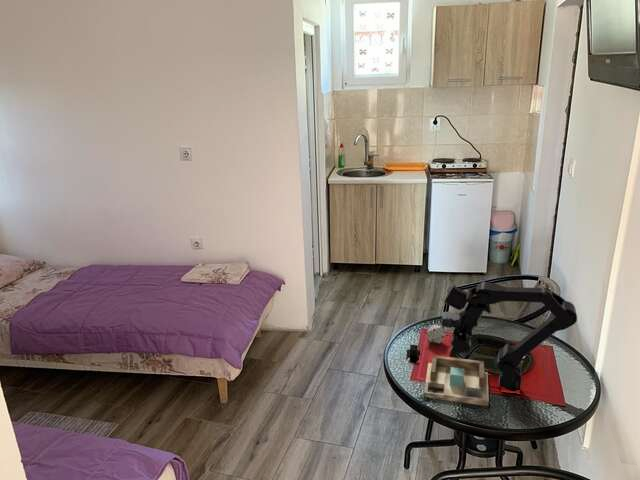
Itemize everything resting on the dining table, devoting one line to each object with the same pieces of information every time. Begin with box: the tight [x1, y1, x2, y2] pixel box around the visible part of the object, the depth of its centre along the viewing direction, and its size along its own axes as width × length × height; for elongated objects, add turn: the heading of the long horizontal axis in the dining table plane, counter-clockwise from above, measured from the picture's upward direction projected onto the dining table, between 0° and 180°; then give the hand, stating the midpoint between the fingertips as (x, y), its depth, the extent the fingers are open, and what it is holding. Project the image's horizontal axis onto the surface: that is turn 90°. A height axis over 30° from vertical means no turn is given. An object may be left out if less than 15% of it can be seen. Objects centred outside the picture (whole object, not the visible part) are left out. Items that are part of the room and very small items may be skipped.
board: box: [423, 362, 490, 407], centre depth 176 cm, size 21×18×2 cm
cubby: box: [430, 355, 485, 387], centre depth 179 cm, size 18×10×4 cm, turn 74°
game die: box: [424, 322, 449, 346], centre depth 202 cm, size 9×8×10 cm
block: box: [450, 367, 464, 387], centre depth 174 cm, size 4×4×4 cm
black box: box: [405, 344, 420, 364], centre depth 194 cm, size 12×7×5 cm, turn 169°
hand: (451, 349), depth 177 cm, fingers open, 9 cm apart
